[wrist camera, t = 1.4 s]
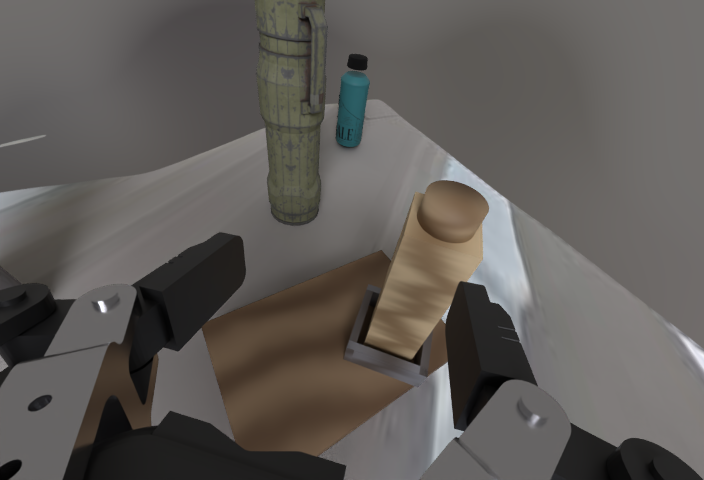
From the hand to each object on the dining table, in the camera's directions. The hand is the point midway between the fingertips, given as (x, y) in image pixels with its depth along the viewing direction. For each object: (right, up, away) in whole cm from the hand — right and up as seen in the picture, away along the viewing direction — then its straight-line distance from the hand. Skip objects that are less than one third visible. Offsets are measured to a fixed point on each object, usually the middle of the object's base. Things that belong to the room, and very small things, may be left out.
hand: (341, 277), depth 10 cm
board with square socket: (-2, -13, +25) cm, 28 cm away
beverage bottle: (-1, +25, +62) cm, 67 cm away
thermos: (-10, +7, +43) cm, 44 cm away
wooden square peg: (+4, -10, +22) cm, 24 cm away
